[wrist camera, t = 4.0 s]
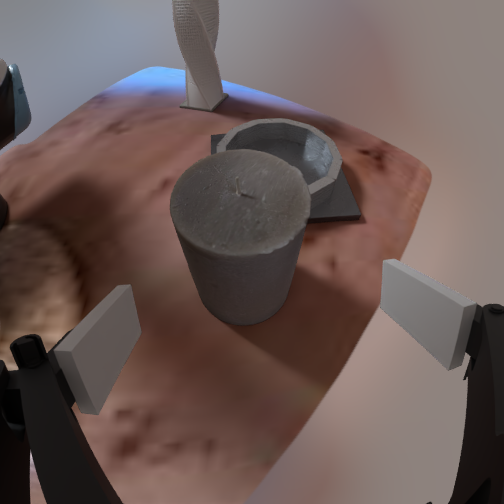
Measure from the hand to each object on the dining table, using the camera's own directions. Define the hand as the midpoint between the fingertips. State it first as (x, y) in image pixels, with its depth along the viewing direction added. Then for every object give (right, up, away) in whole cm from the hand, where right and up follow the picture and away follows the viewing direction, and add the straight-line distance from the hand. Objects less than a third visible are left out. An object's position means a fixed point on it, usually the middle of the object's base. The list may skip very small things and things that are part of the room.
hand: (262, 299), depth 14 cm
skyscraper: (-9, +31, +36) cm, 49 cm away
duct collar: (+3, +13, +25) cm, 29 cm away
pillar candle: (-1, -1, +17) cm, 17 cm away
